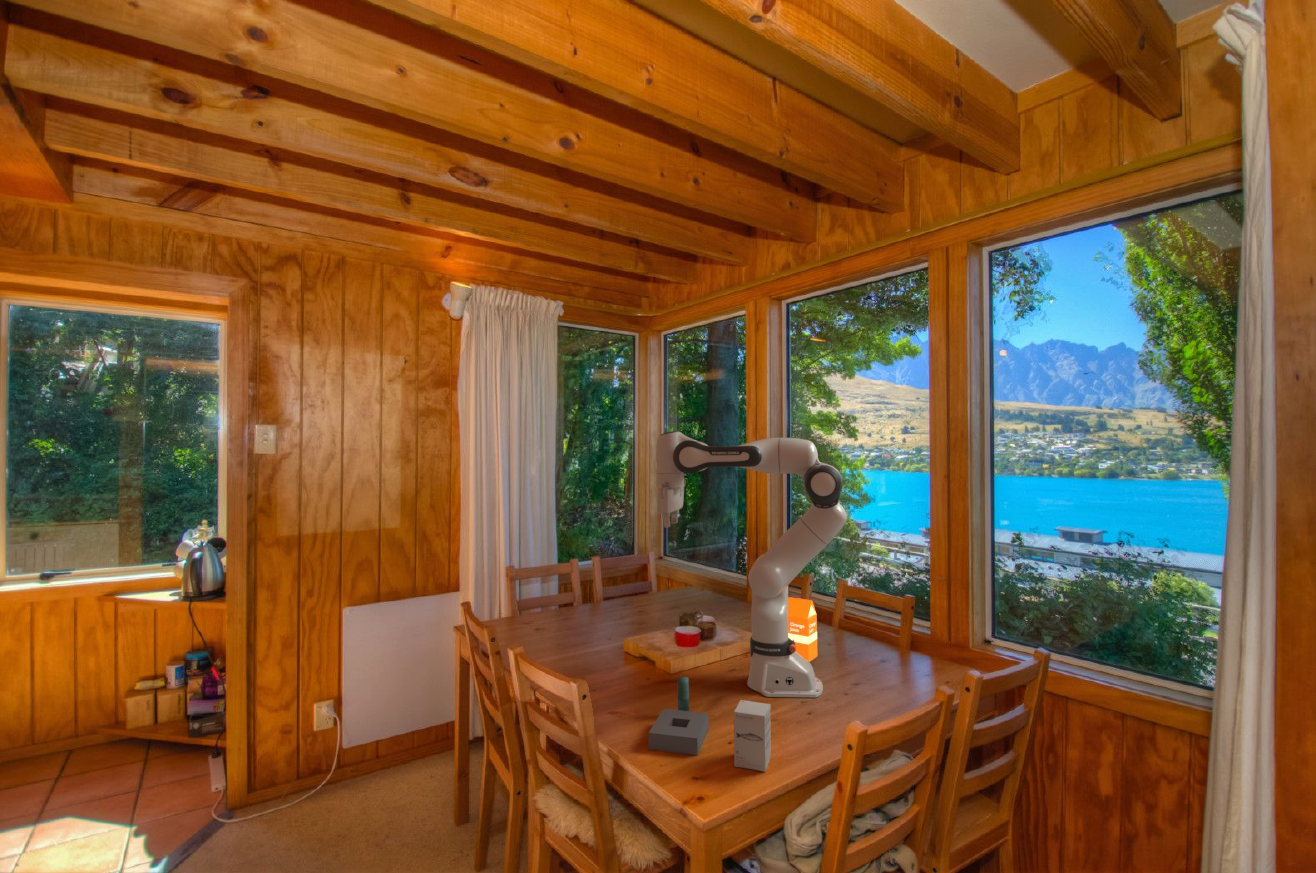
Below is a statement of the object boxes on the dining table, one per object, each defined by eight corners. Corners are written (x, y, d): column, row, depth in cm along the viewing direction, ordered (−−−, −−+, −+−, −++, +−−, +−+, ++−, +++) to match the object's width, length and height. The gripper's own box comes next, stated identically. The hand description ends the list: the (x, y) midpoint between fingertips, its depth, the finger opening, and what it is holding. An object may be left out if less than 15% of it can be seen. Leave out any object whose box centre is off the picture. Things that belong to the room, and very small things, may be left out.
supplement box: (733, 767, 138) (732, 711, 138) (740, 752, 145) (740, 698, 145) (765, 773, 135) (764, 715, 135) (772, 757, 142) (771, 702, 142)
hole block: (708, 728, 157) (708, 713, 157) (697, 755, 143) (697, 738, 143) (663, 723, 160) (663, 708, 160) (648, 749, 146) (648, 732, 147)
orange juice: (808, 662, 204) (807, 602, 205) (784, 657, 210) (783, 599, 210) (817, 655, 210) (816, 597, 211) (794, 651, 216) (793, 594, 216)
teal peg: (690, 713, 166) (689, 677, 166) (687, 718, 163) (687, 681, 163) (679, 712, 167) (679, 676, 167) (676, 717, 164) (676, 680, 164)
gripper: (671, 484, 184) (672, 529, 183) (686, 480, 203) (687, 521, 203) (651, 483, 185) (652, 529, 185) (668, 480, 205) (669, 521, 205)
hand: (670, 525), depth 194 cm, fingers open, 8 cm apart
